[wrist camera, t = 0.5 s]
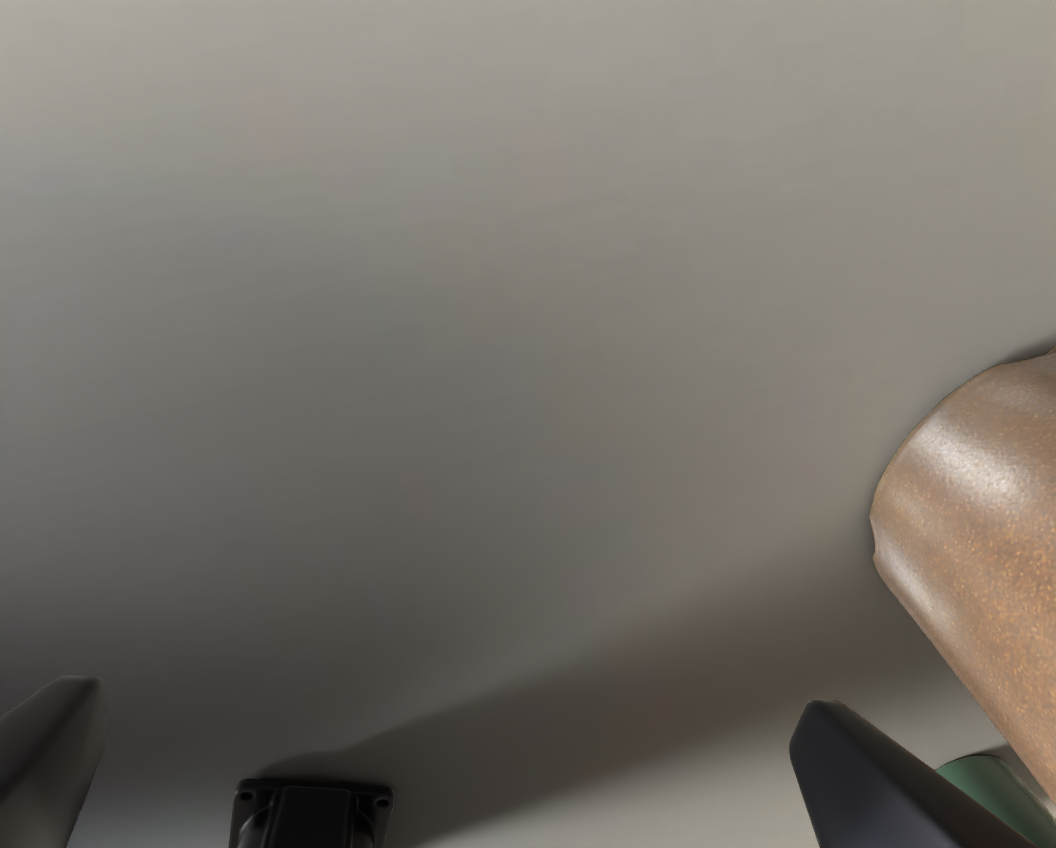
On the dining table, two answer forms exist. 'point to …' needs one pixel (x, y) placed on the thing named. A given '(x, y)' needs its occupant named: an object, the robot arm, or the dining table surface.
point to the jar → (1003, 796)
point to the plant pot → (983, 546)
